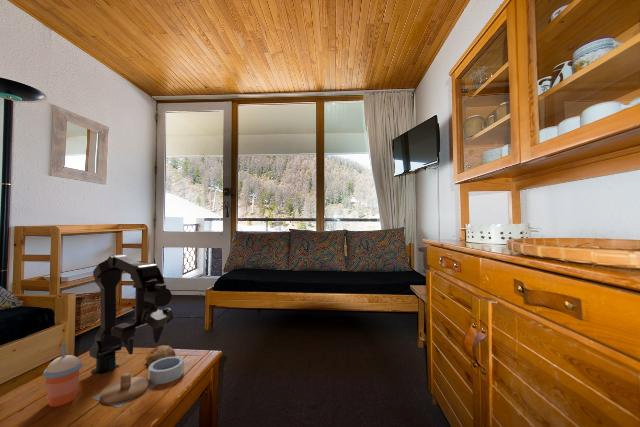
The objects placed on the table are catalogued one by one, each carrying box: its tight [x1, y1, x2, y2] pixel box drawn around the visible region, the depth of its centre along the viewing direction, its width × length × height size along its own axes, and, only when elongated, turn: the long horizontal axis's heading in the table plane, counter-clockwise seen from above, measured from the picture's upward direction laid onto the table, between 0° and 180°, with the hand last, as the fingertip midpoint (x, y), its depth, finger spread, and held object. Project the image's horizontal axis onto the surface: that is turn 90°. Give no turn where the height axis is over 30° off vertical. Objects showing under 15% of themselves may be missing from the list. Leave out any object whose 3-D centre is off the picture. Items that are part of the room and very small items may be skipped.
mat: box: [91, 382, 158, 409], centre depth 93 cm, size 13×13×1 cm
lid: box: [100, 372, 149, 405], centre depth 93 cm, size 13×13×5 cm
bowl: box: [147, 355, 185, 385], centre depth 103 cm, size 11×11×4 cm
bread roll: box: [144, 344, 176, 367], centre depth 114 cm, size 10×10×8 cm
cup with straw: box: [42, 341, 83, 408], centre depth 89 cm, size 9×9×18 cm
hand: (144, 348), depth 96 cm, fingers open, 9 cm apart
